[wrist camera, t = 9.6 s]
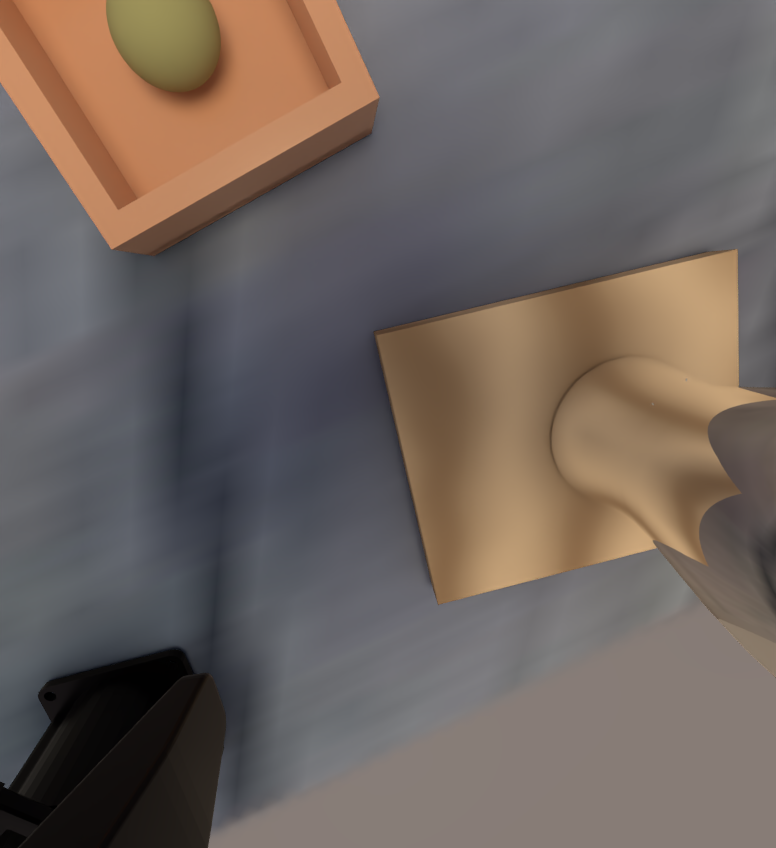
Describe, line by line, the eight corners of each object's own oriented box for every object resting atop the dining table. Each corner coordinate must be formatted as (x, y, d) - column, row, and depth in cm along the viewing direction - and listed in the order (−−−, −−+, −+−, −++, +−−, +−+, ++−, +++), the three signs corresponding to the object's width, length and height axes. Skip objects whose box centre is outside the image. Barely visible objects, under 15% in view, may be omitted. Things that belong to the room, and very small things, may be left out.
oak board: (431, 584, 23) (438, 604, 21) (373, 331, 19) (376, 335, 18) (715, 511, 23) (739, 526, 22) (708, 251, 20) (737, 249, 18)
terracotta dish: (154, 255, 18) (111, 249, 14) (-20, -16, 15) (-122, -101, 12) (371, 133, 17) (379, 97, 14) (230, -168, 15) (199, -300, 11)
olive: (152, 116, 16) (111, 79, 13) (117, 7, 15) (65, -59, 12) (242, 96, 16) (221, 55, 13) (212, -13, 15) (183, -83, 12)
